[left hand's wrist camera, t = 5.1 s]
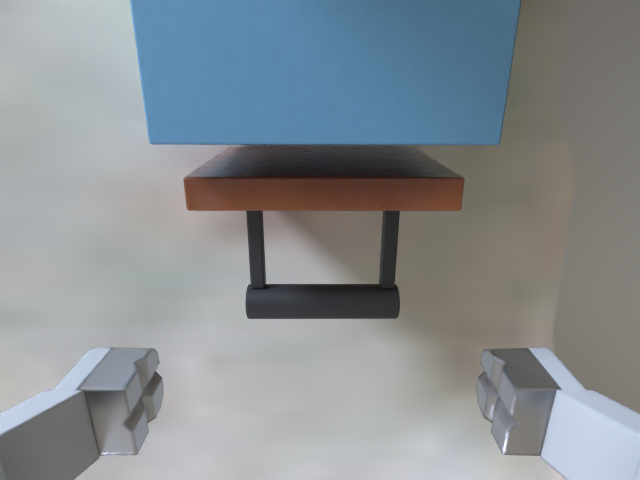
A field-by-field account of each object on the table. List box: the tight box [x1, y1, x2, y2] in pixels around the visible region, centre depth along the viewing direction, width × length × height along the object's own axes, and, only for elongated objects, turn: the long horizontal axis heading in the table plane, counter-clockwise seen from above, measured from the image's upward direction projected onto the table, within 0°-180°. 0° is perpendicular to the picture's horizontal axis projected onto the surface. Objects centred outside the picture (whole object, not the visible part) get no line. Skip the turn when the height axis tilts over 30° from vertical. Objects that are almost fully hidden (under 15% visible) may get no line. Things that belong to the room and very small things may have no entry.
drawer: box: [184, 147, 464, 319], centre depth 16 cm, size 24×10×8 cm, turn 0°
